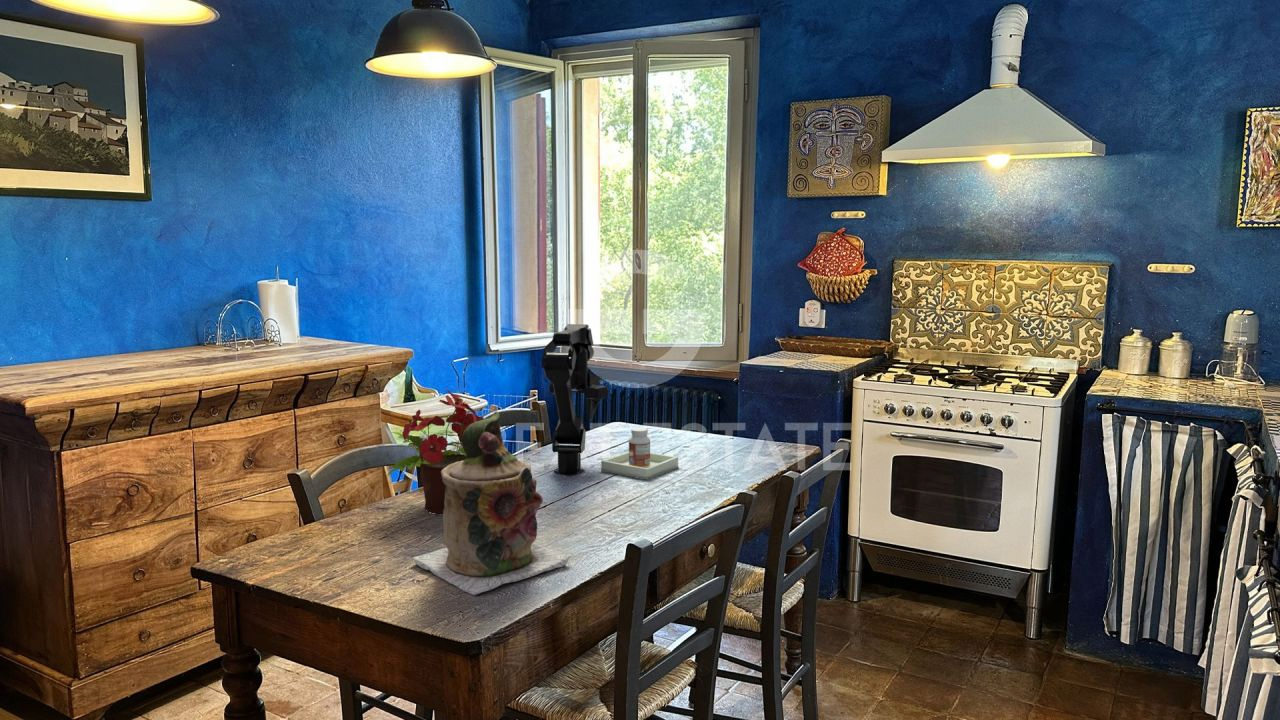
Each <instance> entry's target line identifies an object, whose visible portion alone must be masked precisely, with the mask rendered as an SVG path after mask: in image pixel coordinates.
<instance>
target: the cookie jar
mask: <svg viewBox="0 0 1280 720" xmlns="http://www.w3.org/2000/svg"><path fill="white" fill-rule="evenodd" d="M500 417H501V416H500V412H499V411H497V410H496V411H494V412H493V414H492V416H491V417H488V418H484V420H480V421H477V422H474V423H472V424H470V425H469V426H468V427H466V429H465V431H464V432H463V435H462V439H461V443H462V446H461V447H463V449H464V451H465V454H466V455H467V456H466V458H465V460H464V461H459V462H455V463H453V464H450V465H448V466H447V467H446V468H444V469H443V470H442V471H441V476H442V480H443V482H444V484H445V485H446V489H445V500H444V505H445V507H444V512H443V515H442V517H443V518H442V519H443V522H442V527H443V536H442V537H443V542H444V545H445V548H440V549H436V550H433V551H431V552H426V553H424V554H421V555H417V556H413V561H414V563H415V564H416V565H417V566H418V567H420V568H421V569H422V570H426V571H429V572H431V573H432V574H433V575H435V576H436V577H438V578H440V579H442V580H444V581H446V582H447V583H449V584H451V585H454V586H455V587H456V588H458V589H460V590H461V591H463V592H465V593H468V594H469V595H473V596H477V595H479V594H481V593H485V592H487V591H488V592H489V591H491V590H493V589H496V588H498V587H499V586H502V585H504V584H509V583H513V582H518V581H522V580H524V579H528V578H532V577H533V576H537V575H541V574H543V573H545V572H549V571H552V570H554V569H556V568H557V569H558V568H563V567H565V566H566V565H567V564H568V562H569V560H570V558H571V557H572V555H571V554H569V553H566V552H562V551H559V550H554V549H553V550H552V549H549V548H546V547H544V546H543V545H540V544H538V543H536V542H535V541H536V540H537V537H538V520H537V516H536V515H537V513H538V511H539V510H540V508H541V505H542V504H543V502H544V498H543V497H542V495H541V494H540V492H537V483H538V482H537V479H536V478H533V474H532V466H531V464H529V463H527V462H524V461H522V460H519V459H518V458H517V457H516V456H515V455H514V454H512V453H510V452H509V451H508V449H507V447H506V446H505V444H504V440H503V436H502V430H501V426H500V421H499V420H500Z"/></svg>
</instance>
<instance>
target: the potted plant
mask: <svg viewBox="0 0 1280 720" xmlns="http://www.w3.org/2000/svg"><path fill="white" fill-rule="evenodd" d="M445 390H446V392H447V393H448V394H449V395H450V396H451V397H450V396H449V395H448V394H447V395H445V400H443V399H440V400H438V402H439V403H442V404H444V405H446V406H452V407H453V408H454V411H453V413H452V414H451V415H450V416H447V417H446V419H443V418H442V417H440V416H439V415H435V416H433V418H430V417H428V416H427V417H425V418H423V417H422V416H421V411H422V410H421V409H418V410H416V412H415V414H413V415H412V416H411V419H412V420H410V422H409V423H405V424H404V427H403V430H402V431H400V432H401V433H400V432H395V431H390V433H391V434H394V435H395V434H396V435H398V436H397V437H396V438H397V439H403V442H402V444H404V443H406V444H407V443H408V447H413V446H416V448H415V453H419V455H411V456H408V457H404V458H402V459H401V460H399V461H397V462H396V463H394V464H393V465H391V466H390V467H389V468H390V469H391V470H390V471H389V472H388V473H387V475H386V477H388V476H389V475H391V474H392V473H394V472H396V471H397V470H400V471H401V472H402V473H403V472H404V471H405V469H406V468H407V469H408V470H411V471H412V470H413V468H414V467H419V468H420V473H421V481H422V486H423V494H424V495H423V496H424V500H425V501H424V502H425V504H424V510H425V511H426V510H427V511H428V512H427V511H426V512H427V513H429V512H431V513H430V514H432V513H435V514H434V515H438V514H443V512H444V507H445V505H444V500H445V489H446V485H445V484H444V482H443V480H442V476H441V471H442V470H443V469H444V468H446V467H447V466H448V465H450V464H453V463H455V462H459V461H464V460H465V458H466V456H467V455H466V454H465V451H464V449H463V446H462V442H460V440H461V436H463V432H464V431H465V429H466V427H468V426H469V425H470V424H472V423H474V422H477V421H480V420H484V419H485V418H484V416H478V415H477V412H476V411H475V410H474V409H473V408H472V407H471V406H470V405H469V404H468V403H466V401H464V399H463V398H461V397H460V395H458V394H455V393H452V392H451V391H450V390H448V389H446V388H445ZM467 411H470V412H471V413H469V412H467ZM418 421H419V422H418ZM446 423H448V424H447V426H446V429H445V436H444V435H439V436H438V434H436V433H432V434H430V429H429V428H430V425H434V426H435V427H436V426H437V427H444V426H445V425H446ZM450 424H451V431H453V432H454V433H455V434H457V435H459V438H458V441H451V442H448V439H447V437H448V435H447V434H448V428H449V426H450ZM426 428H427V433H425V432H424V431H423V430H424V429H426ZM411 432H422V433H423V434H424V435H425V436H427V438H424V439H423V440H422V438H421V437H418V436H414V435H412V434H411V435H410V433H411ZM459 445H460V446H459ZM448 446H452V447H454V446H455V447H456V450H453V449H452V450H451V449H449V450H448V449H447V447H448ZM392 468H393V469H392Z"/></svg>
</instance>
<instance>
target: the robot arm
mask: <svg viewBox="0 0 1280 720" xmlns="http://www.w3.org/2000/svg"><path fill="white" fill-rule="evenodd" d="M593 346H594V340H593V335H592V329H591V327H590V328H589V325H588V324H586V323H585V324H584V323H583V324H580V323H579V324H578V323H571V324H570V323H569V324H568V323H567V324H566V325H565V327H564V329H563V330H561V331H556V332H554V333H553V335H552V339H551V341H549V343H548V344H546V346H545V347H544V349H543V353H542V358H541V369H542V370H543V372H544V375H545V378H546V379H547V380H548V381H549V382H550V384H549V386H548V393H550V394H551V395H552V396H553V397H554V398H555V402H556V407H557V408H556V409H557V413H558V421H557V426H556V427H555V429H554V432H553V436H552V442H551V445H552V446H551V447H552V448H551V451H552V453H557V469H555V470H553V473H556V474H561V475H566V476H573V475H576V474H580V473H583V472H585V469H584V468H582V463H581V462H582V460H581V457H582V455H581V454H583V452H584V451H585V450H586V439H587V438H586V434H587V433H586V432H587V431H586V429H585V428H584V423H583V417H582V416H581V415H576V411H575V404H574V399H573V393H579V394H586V396H587V397H586V398H585V403H586V410H587V417H588V420H589V421H592V420H593V419H594V415H595V412H596V410H597V407H598V406H599V405H598V404H599V403H600V401H601V400H603V399H605V398H606V397H608V396H609V388H608V387H607V386H604V385H600V382H601V377H600V376H598V375H595V374H592V371H591V368H588V367H589V365H588V364H589V363H588V362H589V361H591V359H592V358H594V354H595V350H594V348H593ZM557 347H569V349H568V350H567V352H555V350H556V349H557Z"/></svg>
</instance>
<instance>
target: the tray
mask: <svg viewBox="0 0 1280 720" xmlns="http://www.w3.org/2000/svg"><path fill="white" fill-rule="evenodd" d="M600 462H601V463H600V464H601V465H600V468H601V472H603V471H605V472H604V473H609V472H610V473H609V474H614V473H616V474H615V475H619V474H620V475H619V476H624V475H626V476H625V477H629V476H632V477H631V478H635V477H638V478H637V479H640V478H642V479H641V480H645V479H646V481H648V480H650V478H651V479H654V478H655V477H656V478H657V476H660V474H661V475H663V474H665V473H668V472H670V471H673V470H674V469H677V467H678V468H679V457H678V456H673V455H666V454H661V453H656V452H650V466H649V467H648V468H643V467H638V466H632V465H629V450H628V451H626V452H623V453H620V454H617V455H614V456H611V457H609V458H606V459H603V460H601V461H600Z"/></svg>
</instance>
